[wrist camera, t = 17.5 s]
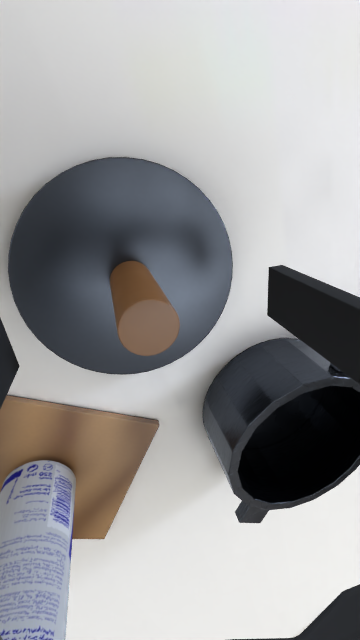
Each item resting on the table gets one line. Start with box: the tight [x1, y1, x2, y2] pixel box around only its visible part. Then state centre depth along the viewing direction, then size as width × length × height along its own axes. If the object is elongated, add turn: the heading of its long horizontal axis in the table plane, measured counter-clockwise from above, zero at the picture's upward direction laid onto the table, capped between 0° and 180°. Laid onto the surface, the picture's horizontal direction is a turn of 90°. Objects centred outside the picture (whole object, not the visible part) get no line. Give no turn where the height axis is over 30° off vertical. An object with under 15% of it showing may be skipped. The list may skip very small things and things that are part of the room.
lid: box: [8, 157, 233, 374], centre depth 17 cm, size 15×15×9 cm
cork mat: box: [0, 395, 159, 539], centre depth 25 cm, size 16×15×1 cm
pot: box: [203, 338, 360, 523], centre depth 26 cm, size 14×19×6 cm
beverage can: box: [0, 460, 76, 640], centre depth 19 cm, size 6×6×15 cm
